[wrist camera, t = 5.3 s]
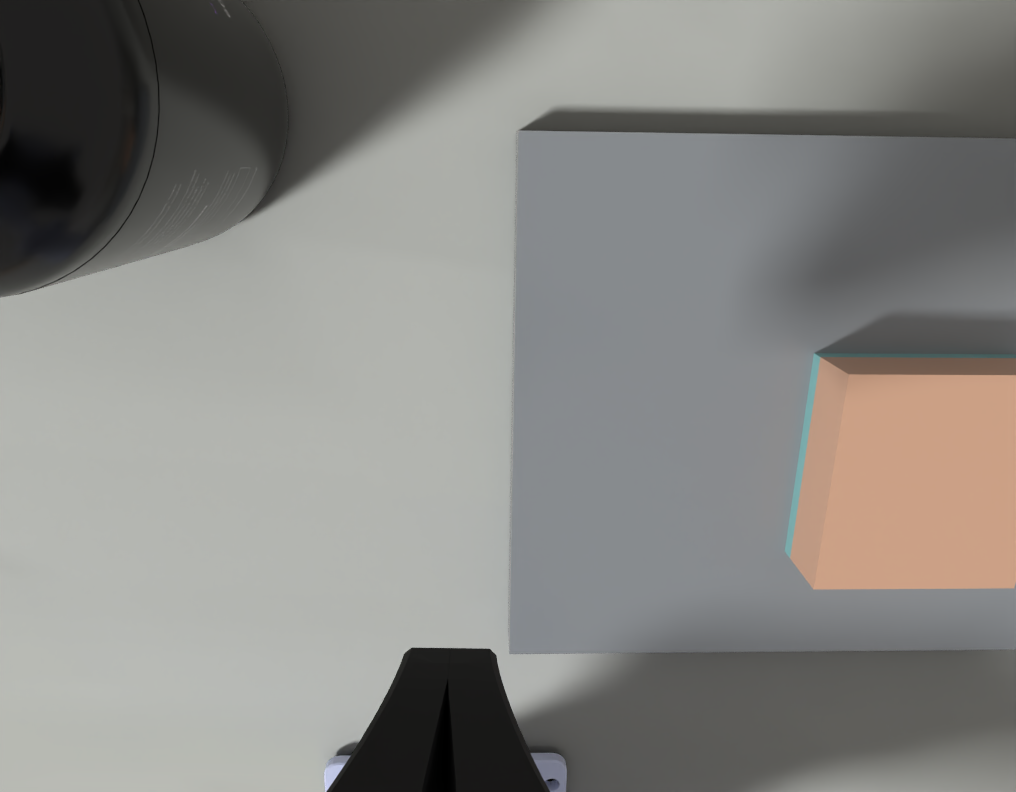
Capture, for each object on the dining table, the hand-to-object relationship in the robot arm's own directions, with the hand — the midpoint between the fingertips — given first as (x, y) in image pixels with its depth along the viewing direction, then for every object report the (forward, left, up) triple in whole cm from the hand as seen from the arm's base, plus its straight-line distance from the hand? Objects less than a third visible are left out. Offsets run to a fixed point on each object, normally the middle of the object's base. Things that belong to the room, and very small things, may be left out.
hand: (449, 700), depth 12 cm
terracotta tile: (0, -9, -8) cm, 13 cm away
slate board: (+1, -10, -10) cm, 15 cm away
